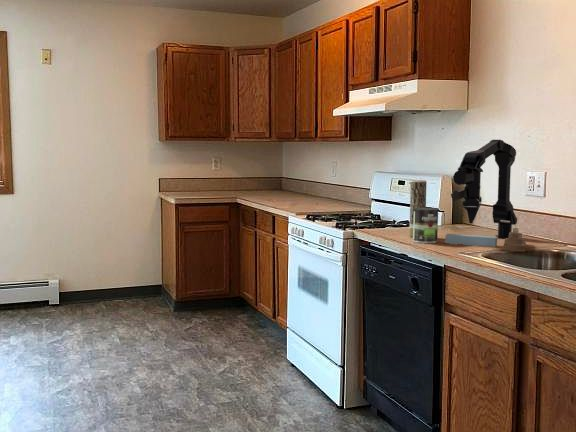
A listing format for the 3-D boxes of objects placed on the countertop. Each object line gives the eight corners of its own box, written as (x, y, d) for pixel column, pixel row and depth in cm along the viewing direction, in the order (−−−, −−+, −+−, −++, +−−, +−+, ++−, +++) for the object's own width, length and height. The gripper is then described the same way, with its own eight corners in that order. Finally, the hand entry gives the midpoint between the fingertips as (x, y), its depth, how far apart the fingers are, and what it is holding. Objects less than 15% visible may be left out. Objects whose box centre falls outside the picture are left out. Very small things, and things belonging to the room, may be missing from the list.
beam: (447, 243, 265) (447, 233, 264) (496, 246, 256) (497, 236, 255) (445, 244, 262) (445, 234, 261) (495, 248, 252) (495, 238, 252)
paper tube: (422, 235, 282) (424, 179, 279) (426, 238, 275) (428, 180, 272) (407, 235, 282) (409, 179, 279) (411, 238, 275) (412, 181, 272)
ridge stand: (504, 243, 262) (505, 227, 262) (525, 244, 260) (526, 228, 259) (503, 250, 246) (504, 233, 245) (525, 251, 243) (526, 234, 242)
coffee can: (441, 243, 263) (442, 209, 261) (418, 243, 261) (419, 210, 259) (431, 239, 273) (432, 206, 271) (408, 240, 271) (409, 207, 269)
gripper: (454, 181, 267) (453, 218, 269) (450, 184, 250) (448, 223, 252) (482, 182, 263) (480, 219, 265) (479, 185, 246) (478, 225, 248)
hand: (471, 221), depth 257 cm, fingers open, 9 cm apart
